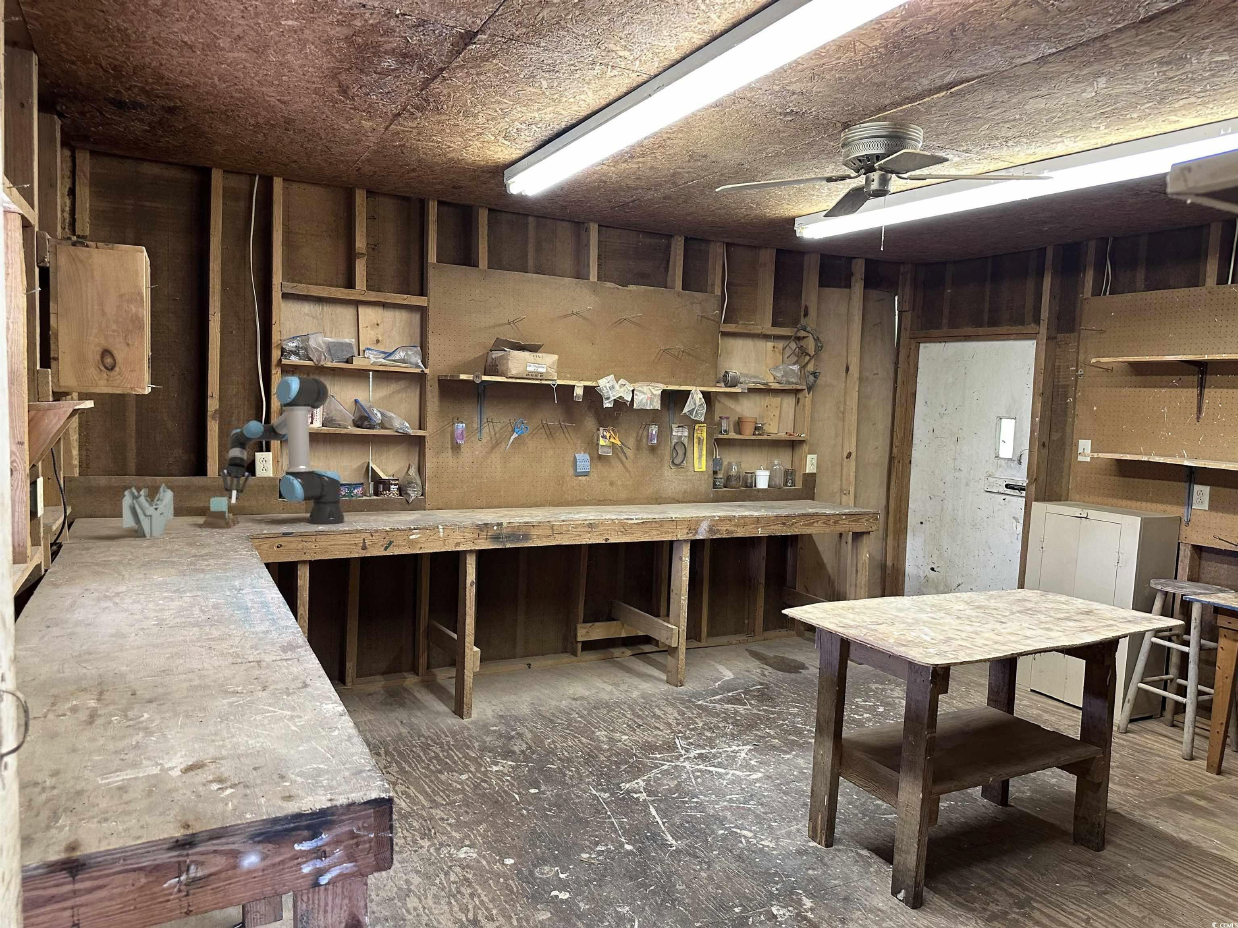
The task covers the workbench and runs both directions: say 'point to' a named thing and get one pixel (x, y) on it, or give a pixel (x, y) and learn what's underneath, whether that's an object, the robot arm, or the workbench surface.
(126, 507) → the bracket
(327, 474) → the robot arm
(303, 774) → the workbench surface
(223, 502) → the mint green box
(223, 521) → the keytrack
